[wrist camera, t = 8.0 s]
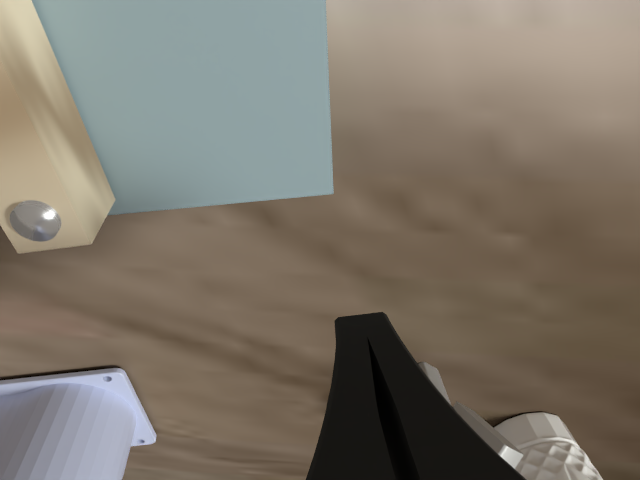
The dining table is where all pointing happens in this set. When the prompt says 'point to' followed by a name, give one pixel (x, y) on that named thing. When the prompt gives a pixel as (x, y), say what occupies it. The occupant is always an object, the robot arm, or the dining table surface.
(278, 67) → the blue-grey block
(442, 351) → the dining table surface
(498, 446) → the lighter
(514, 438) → the white cup
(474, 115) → the dining table surface
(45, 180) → the folding leg
